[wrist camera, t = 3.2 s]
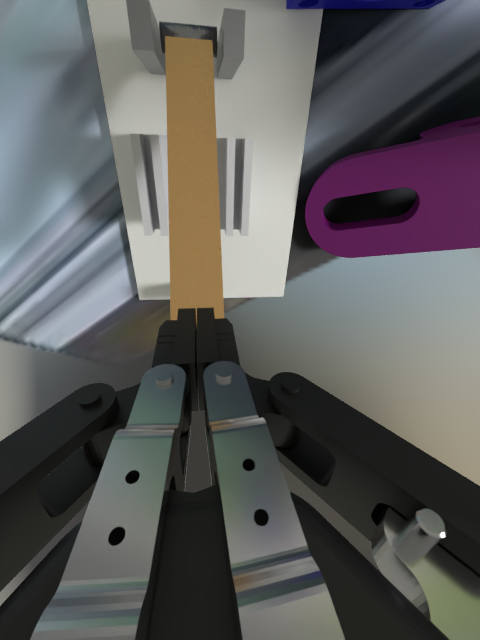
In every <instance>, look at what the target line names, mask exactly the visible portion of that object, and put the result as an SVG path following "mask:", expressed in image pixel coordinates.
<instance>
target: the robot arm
mask: <svg viewBox="0 0 480 640" xmlns="http://www.w3.org/2000/svg"><path fill="white" fill-rule="evenodd" d="M198 390H199V407H200V410H205V429H206V438H207V447H208V455H209V464H210V473H211V482H212V486H211V487H209V488H206V489H204V490H201V491H198V492H195V493H189V492H185V478H186V469H187V460H188V450H189V441H190V431H191V430H190V429H191V428H190V426H191V421H192V411H198ZM80 447H81V448H80ZM75 451H76V452H75ZM74 452H75V453H74ZM73 453H74V454H73ZM68 457H69V458H68ZM67 458H68V459H67ZM62 462H63V463H62ZM61 463H62V464H61ZM280 463H281V464H283V465H284V466H285V467H286V468H287V469H288V470H289V471H291V472H292V473H293V474H294V475H295V476H296V477H298V478H299V479H300V480H301V481H302V482H303V483H304V484H305V485H307V486H308V487H309V488H310V489H311V490H312V491H313V492H315V493H316V494H317V495H318V496H319V497H321V499H323V500H324V501H325V502H326V503H327V504H328V505H329V506H331V507H332V508H333V509H334V510H335V511H336V512H337V513H339V514H340V515H341V516H342V517H343V518H344V519H346V520H347V521H348V522H349V523H350V524H351V525H352V526H354V527H355V528H356V529H357V530H358V531H359V532H360V533H361V534H363V535H364V536H365V537H366V538H367V539H368V540H369V541H371V549H372V553H373V557H374V559H375V562H376V564H377V565H378V567H379V569H380V571H381V572H380V571H379V570H378V569H376V568H375V567H374V566H373V565H372V564H371V563H370V562H369V561H368V560H367V559H366V558H365V557H364V556H363V555H362V554H361V553H360V552H359V551H358V550H357V549H356V548H355V547H354V546H353V545H352V544H350V542H349V541H348V540H347V539H345V537H343V536H342V535H341V534H340V533H339V532H338V531H337V530H336V529H335V528H334V527H333V526H332V525H331V524H330V523H329V522H328V521H327V520H326V519H325V518H324V517H323V516H322V515H321V514H320V513H319V512H318V511H317V510H316V509H315V508H313V507H312V506H311V505H310V504H309V503H307V502H306V501H305V500H304V499H302V498H300V497H299V496H297V495H296V494H294V493H292V492H289V489H288V486H287V483H286V480H285V477H284V474H283V471H282V468H281V465H280ZM56 467H57V468H56ZM55 468H56V469H55ZM54 469H55V470H54ZM49 473H50V474H49ZM48 474H49V475H48ZM89 501H90V502H89ZM88 502H89V505H88V508H87V511H86V513H85V516H84V519H83V521H82V522H80V523H79V524H78V525H76V526H75V527H74V528H73V529H72V530H71V531H70V532H69V533H67V534H66V535H65V536H64V537H63V538H62V539H61V540H60V541H59V543H58V544H57V545H56V546H55V547H54V548H53V549H52V550H51V551H50V552H49V553H48V555H47V556H46V557H45V558H44V559H43V560H42V561H41V562H40V564H38V565H37V567H36V568H35V569H34V570H33V571H32V572H31V573H30V574H29V575H28V576H27V578H26V579H25V580H24V581H23V582H22V583H21V584H20V585H19V586H18V587H17V588H16V590H15V591H14V592H13V593H12V594H11V595H10V596H9V597H8V598H7V599H6V600H5V602H4V603H3V604H2V605H1V606H0V640H480V486H479V485H477V484H475V483H474V482H472V481H471V480H469V479H467V478H466V477H464V476H462V475H461V474H459V473H458V472H456V471H454V470H453V469H451V468H449V467H448V466H446V465H445V464H443V463H441V462H439V461H438V460H437V459H435V458H433V457H431V456H430V455H428V454H427V453H425V452H424V451H422V450H420V449H419V448H417V447H415V446H414V445H412V444H411V443H409V442H407V441H406V440H404V439H403V438H401V437H399V436H397V435H396V434H395V433H393V432H391V431H390V430H388V429H386V428H385V427H383V426H382V425H380V424H378V423H377V422H375V421H373V420H372V419H370V418H369V417H367V416H365V415H364V414H362V413H361V412H359V411H357V410H356V409H354V408H352V407H351V406H349V405H348V404H346V403H344V402H343V401H341V400H339V399H338V398H336V397H334V396H333V395H331V394H329V393H328V392H326V391H325V390H323V389H322V388H320V387H318V386H317V385H315V384H314V383H312V382H310V381H309V380H307V379H306V378H304V377H302V376H300V375H298V374H295V373H290V372H282V373H279V374H276V375H275V376H273V377H272V378H271V380H270V381H267V380H261V379H257V378H253V377H251V376H249V375H248V374H246V373H245V372H244V370H243V369H242V368H241V366H240V363H239V357H238V353H237V347H236V342H235V336H234V331H233V326H232V324H231V323H230V322H229V321H228V320H227V319H226V318H220V319H215V316H214V307H210V308H197V325H196V309H195V308H180V309H178V315H177V320H166V321H165V322H164V323H163V324H162V325H161V327H160V328H159V333H158V338H157V344H156V348H155V353H154V358H153V363H152V368H151V369H150V370H149V371H147V372H146V374H145V375H144V376H143V378H142V381H141V383H139V384H137V385H135V386H133V387H130V388H127V389H123V390H120V391H117V392H115V390H114V389H113V387H111V386H110V385H108V384H104V383H95V384H90V385H87V386H84V387H81V388H79V389H78V390H76V391H75V392H73V393H72V394H70V395H69V396H67V397H66V398H64V399H63V400H61V401H60V402H58V403H57V404H55V405H54V406H52V407H51V408H49V409H48V410H46V411H45V412H43V413H42V414H40V415H39V416H37V417H36V418H35V419H33V420H31V421H30V422H29V423H27V424H26V425H24V426H23V427H21V428H20V429H18V430H17V431H15V432H14V433H12V434H11V435H10V436H8V437H6V438H5V439H3V440H2V441H0V591H1V590H2V589H3V588H4V587H5V586H6V585H7V584H8V583H9V582H10V581H11V580H12V579H13V578H14V577H15V576H16V575H17V574H18V573H19V572H20V571H21V570H22V569H23V568H24V567H25V566H26V565H27V564H28V563H29V562H30V561H31V560H32V559H33V558H34V557H35V556H36V554H38V553H39V552H40V550H42V549H43V548H44V547H45V546H46V545H47V544H48V543H49V542H50V540H51V539H52V538H53V537H54V536H55V535H56V534H57V533H58V532H59V531H60V530H61V529H62V528H63V527H64V526H65V525H66V524H67V523H68V522H69V521H70V520H71V519H72V518H73V517H74V516H75V515H76V514H77V513H78V512H79V511H80V510H81V509H82V508H83V507H84V506H85V505H86V504H87V503H88Z"/></svg>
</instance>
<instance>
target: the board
mask: <svg viewBox="0 0 480 640" xmlns="http://www.w3.org/2000/svg"><path fill="white" fill-rule="evenodd" d="M286 3H287V0H87V5H88V10H89V16H90V22H91V27H92V33H93V39H94V44H95V50H96V56H97V61H98V67H99V73H100V78H101V84H102V90H103V95H104V101H105V107H106V112H107V118H108V124H109V129H110V135H111V141H112V147H113V152H114V158H115V164H116V169H117V175H118V181H119V186H120V192H121V198H122V203H123V209H124V215H125V220H126V226H127V232H128V237H129V243H130V249H131V254H132V260H133V266H134V271H135V277H136V283H137V288H138V294H139V300H157V299H170V258H169V207H168V155H167V104H166V54H163V53H162V49H161V41H160V29H159V21H163V22H173V23H184V24H194V25H205V26H215V27H217V58H213V66H214V90H215V113H216V137H217V160H218V183H219V207H220V230H221V254H222V277H223V298H239V297H279V296H280V297H281V296H283V295H284V288H285V281H286V274H287V266H288V259H289V252H290V245H291V238H292V230H293V223H294V216H295V209H296V201H297V194H298V187H299V180H300V173H301V165H302V158H303V151H304V144H305V136H306V129H307V122H308V115H309V108H310V100H311V93H312V86H313V79H314V71H315V64H316V57H317V50H318V42H319V35H320V28H321V21H322V14H323V9H286Z"/></svg>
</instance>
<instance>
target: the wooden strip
mask: <svg viewBox="0 0 480 640" xmlns="http://www.w3.org/2000/svg"><path fill="white" fill-rule="evenodd" d="M159 29H160V41H161V49H162V53H163V54H166V104H167V155H168V207H169V258H170V309H171V320H177V315H178V309H180V308H195V309H196V325H197V308H210V307H214V316H215V319H220V318H224V300H223V277H222V254H221V230H220V207H219V183H218V160H217V137H216V113H215V90H214V66H213V58H217V27H215V26H205V25H194V24H184V23H173V22H163V21H159Z"/></svg>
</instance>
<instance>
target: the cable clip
mask: <svg viewBox="0 0 480 640" xmlns="http://www.w3.org/2000/svg"><path fill="white" fill-rule="evenodd" d="M443 1H445V0H287V3H286V9H429V8H431V7H433V6H435V5H437V4H439V3H441V2H443Z"/></svg>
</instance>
